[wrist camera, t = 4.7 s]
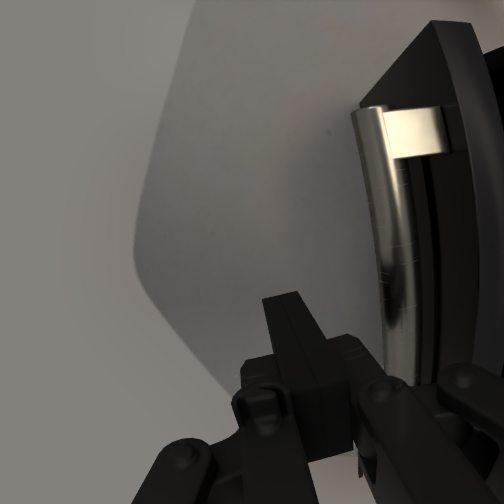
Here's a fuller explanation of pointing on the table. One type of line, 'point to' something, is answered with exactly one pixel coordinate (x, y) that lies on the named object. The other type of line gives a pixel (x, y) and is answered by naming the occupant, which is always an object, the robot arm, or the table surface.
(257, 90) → the table surface
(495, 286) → the oven door
